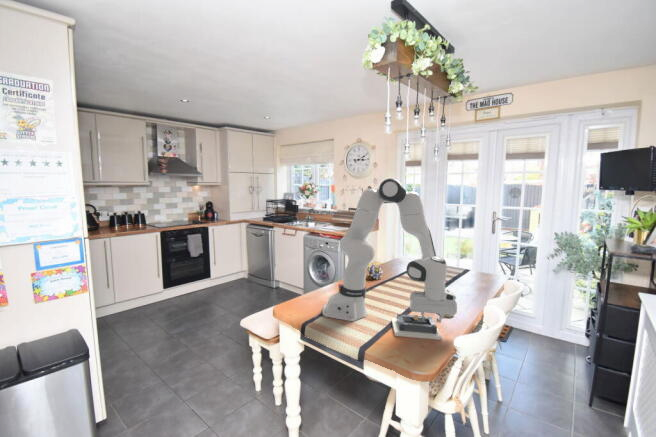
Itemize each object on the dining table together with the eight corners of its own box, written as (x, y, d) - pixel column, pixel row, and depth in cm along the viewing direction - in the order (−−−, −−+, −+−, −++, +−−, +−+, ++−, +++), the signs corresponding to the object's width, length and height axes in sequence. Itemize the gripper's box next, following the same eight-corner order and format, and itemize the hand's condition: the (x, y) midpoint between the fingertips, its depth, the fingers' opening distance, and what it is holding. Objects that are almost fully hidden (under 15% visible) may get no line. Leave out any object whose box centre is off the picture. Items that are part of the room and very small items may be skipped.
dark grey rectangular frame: (399, 330, 134) (400, 324, 134) (396, 320, 144) (397, 314, 143) (436, 333, 132) (437, 327, 132) (431, 323, 142) (431, 317, 142)
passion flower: (376, 287, 205) (372, 276, 198) (365, 279, 213) (360, 268, 206) (387, 276, 209) (383, 265, 202) (375, 269, 217) (372, 258, 210)
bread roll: (442, 318, 151) (443, 310, 151) (433, 310, 160) (434, 303, 160) (457, 317, 153) (458, 310, 152) (447, 309, 162) (448, 302, 161)
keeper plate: (394, 335, 132) (395, 320, 131) (391, 320, 146) (392, 306, 145) (441, 339, 130) (443, 324, 129) (433, 324, 144) (434, 310, 143)
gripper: (411, 293, 133) (409, 322, 135) (459, 297, 131) (456, 326, 133) (409, 288, 139) (407, 316, 141) (455, 291, 137) (452, 320, 139)
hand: (431, 321), depth 137 cm, fingers open, 5 cm apart
